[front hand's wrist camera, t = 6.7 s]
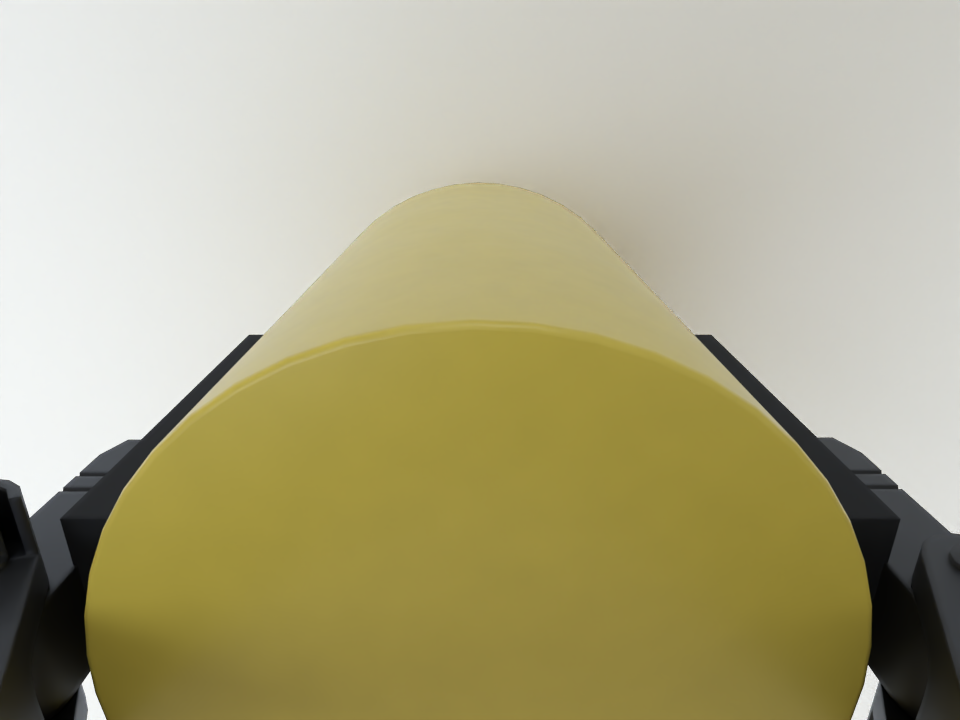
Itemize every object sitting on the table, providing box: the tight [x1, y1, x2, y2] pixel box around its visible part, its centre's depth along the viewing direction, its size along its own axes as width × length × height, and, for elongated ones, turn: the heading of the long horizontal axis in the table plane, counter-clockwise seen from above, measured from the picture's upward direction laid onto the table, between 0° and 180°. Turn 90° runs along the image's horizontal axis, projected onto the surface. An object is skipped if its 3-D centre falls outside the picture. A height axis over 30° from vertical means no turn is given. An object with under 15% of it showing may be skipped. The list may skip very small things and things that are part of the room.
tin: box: [84, 183, 872, 720], centre depth 12 cm, size 8×8×11 cm
